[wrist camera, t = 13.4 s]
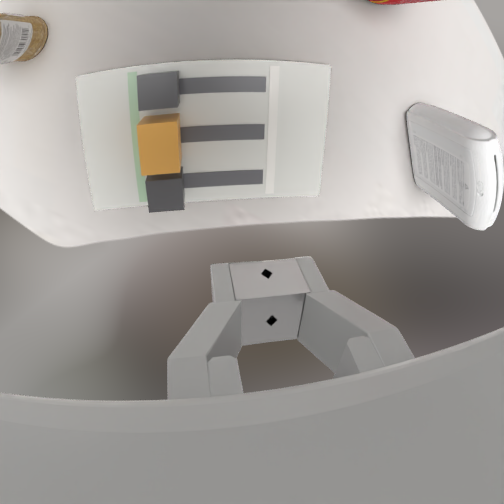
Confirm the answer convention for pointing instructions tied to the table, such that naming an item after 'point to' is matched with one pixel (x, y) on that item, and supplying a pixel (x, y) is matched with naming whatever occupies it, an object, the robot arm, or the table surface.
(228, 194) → the white slider board
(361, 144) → the table surface
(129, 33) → the table surface
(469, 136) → the photo printer
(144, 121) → the orange handle
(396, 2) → the soda can
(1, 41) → the sprinkles bottle
